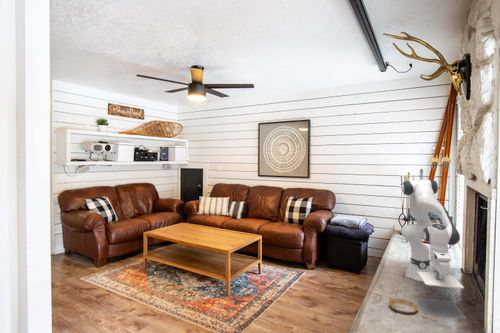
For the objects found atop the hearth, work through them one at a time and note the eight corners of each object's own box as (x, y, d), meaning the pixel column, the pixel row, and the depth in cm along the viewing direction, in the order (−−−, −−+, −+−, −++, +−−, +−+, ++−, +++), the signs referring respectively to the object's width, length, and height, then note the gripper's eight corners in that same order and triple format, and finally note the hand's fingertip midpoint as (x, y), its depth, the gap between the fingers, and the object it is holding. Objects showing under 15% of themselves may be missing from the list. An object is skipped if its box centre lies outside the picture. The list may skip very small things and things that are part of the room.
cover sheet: (417, 272, 177) (417, 264, 177) (451, 275, 172) (451, 267, 171) (425, 285, 160) (425, 276, 160) (464, 288, 154) (463, 280, 154)
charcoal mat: (415, 298, 178) (415, 297, 178) (453, 302, 172) (453, 301, 172) (424, 314, 159) (424, 314, 159) (467, 319, 153) (467, 319, 153)
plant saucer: (408, 302, 174) (408, 298, 174) (423, 315, 159) (423, 311, 159) (384, 303, 173) (384, 299, 173) (397, 316, 158) (397, 312, 158)
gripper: (427, 247, 176) (427, 269, 176) (438, 258, 156) (438, 283, 157) (439, 247, 174) (439, 270, 175) (452, 259, 155) (452, 285, 155)
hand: (439, 276), depth 166 cm, fingers closed on cover sheet, 3 cm apart
